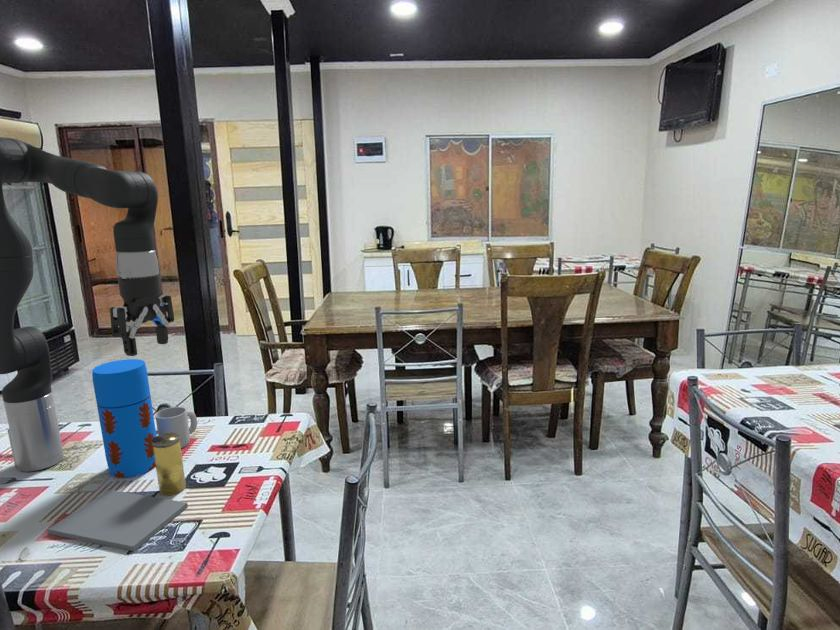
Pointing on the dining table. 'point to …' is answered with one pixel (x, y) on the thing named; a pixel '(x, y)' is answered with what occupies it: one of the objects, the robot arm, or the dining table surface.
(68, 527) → the slate board
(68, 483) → the dining table surface
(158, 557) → the dining table surface
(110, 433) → the thermos
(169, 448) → the canister
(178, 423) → the cup
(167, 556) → the dining table surface
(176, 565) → the dining table surface
